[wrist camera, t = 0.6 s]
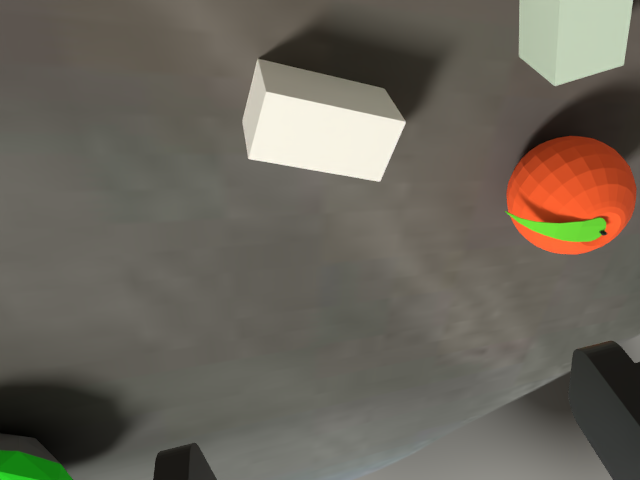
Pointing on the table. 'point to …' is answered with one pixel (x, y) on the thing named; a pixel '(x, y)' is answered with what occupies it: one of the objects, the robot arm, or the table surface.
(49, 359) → the table surface
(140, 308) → the table surface
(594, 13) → the sage brick
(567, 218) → the clementine
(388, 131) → the cream brick
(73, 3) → the table surface
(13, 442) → the salad bowl
